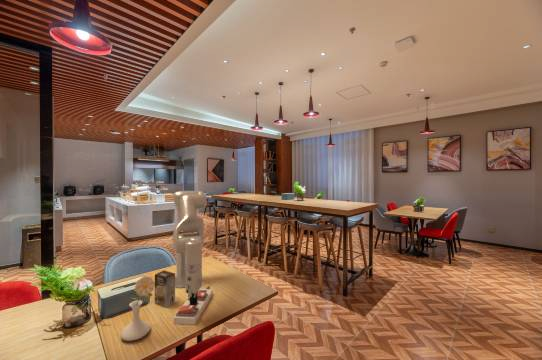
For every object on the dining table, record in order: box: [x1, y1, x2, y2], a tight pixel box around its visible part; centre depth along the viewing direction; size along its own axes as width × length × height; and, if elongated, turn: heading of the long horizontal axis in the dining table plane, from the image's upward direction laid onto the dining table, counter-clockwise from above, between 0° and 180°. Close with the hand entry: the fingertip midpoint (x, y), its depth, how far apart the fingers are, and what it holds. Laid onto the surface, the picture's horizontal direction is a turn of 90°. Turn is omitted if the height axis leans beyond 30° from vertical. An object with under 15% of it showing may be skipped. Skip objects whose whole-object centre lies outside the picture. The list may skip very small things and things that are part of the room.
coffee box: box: [154, 270, 176, 308], centre depth 128 cm, size 9×6×16 cm
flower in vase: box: [120, 275, 155, 342], centre depth 103 cm, size 13×11×25 cm
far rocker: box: [197, 291, 206, 299], centre depth 128 cm, size 7×4×2 cm, turn 87°
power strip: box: [173, 285, 214, 326], centre depth 128 cm, size 10×36×4 cm, turn 177°
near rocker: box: [177, 305, 196, 314], centre depth 114 cm, size 7×4×2 cm, turn 87°
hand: (193, 304), depth 114 cm, fingers closed
